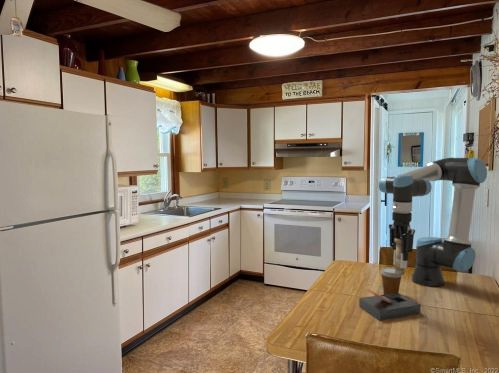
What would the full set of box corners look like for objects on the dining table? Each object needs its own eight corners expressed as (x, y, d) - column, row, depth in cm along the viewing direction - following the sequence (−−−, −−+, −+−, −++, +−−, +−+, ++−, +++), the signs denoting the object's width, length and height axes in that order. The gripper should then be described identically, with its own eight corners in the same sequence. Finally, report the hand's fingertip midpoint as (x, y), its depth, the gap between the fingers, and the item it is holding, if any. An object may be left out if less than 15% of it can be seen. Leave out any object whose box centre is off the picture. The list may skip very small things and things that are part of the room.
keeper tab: (383, 299, 160) (384, 296, 160) (392, 304, 155) (393, 301, 155) (366, 290, 157) (367, 287, 157) (374, 295, 152) (376, 292, 152)
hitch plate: (397, 301, 168) (397, 292, 167) (420, 313, 154) (420, 304, 154) (359, 306, 162) (359, 298, 161) (379, 320, 148) (380, 311, 148)
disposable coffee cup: (403, 299, 169) (404, 274, 168) (381, 298, 171) (382, 272, 170) (399, 292, 179) (400, 267, 177) (378, 290, 180) (379, 266, 179)
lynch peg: (400, 270, 161) (401, 237, 160) (408, 274, 156) (410, 239, 155) (390, 272, 160) (392, 238, 158) (398, 275, 155) (400, 240, 153)
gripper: (381, 209, 162) (380, 261, 164) (408, 215, 147) (406, 273, 149) (396, 208, 165) (394, 260, 167) (424, 214, 149) (421, 271, 151)
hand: (400, 266), depth 158 cm, fingers closed on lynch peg, 3 cm apart
